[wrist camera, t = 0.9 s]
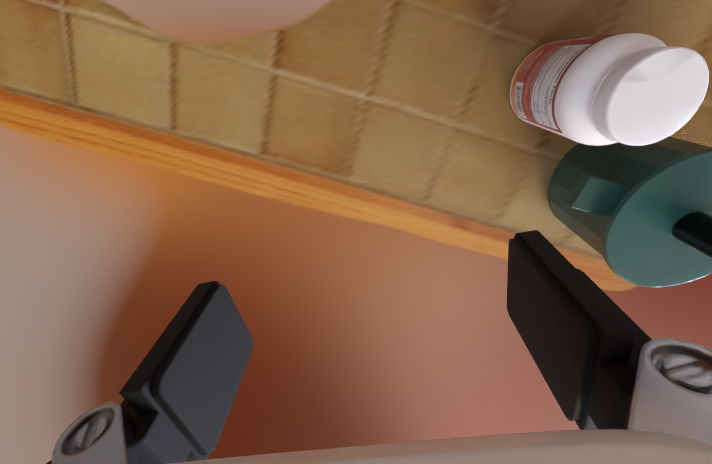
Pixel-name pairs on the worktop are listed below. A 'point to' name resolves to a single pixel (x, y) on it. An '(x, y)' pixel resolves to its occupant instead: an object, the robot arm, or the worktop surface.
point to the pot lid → (664, 225)
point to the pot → (605, 181)
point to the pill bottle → (610, 88)
